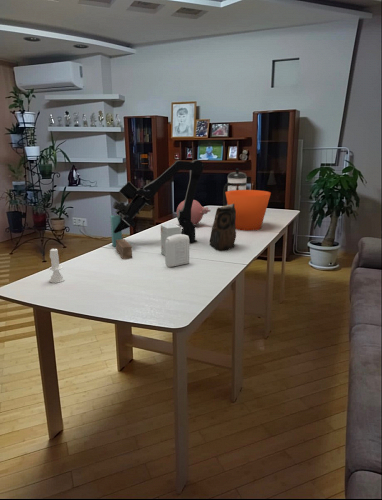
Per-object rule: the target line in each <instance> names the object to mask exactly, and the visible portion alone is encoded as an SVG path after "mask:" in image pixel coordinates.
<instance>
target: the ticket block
mask: <svg viewBox="0 0 382 500" xmlns="http://www.w3.org/2000/svg"><path fill="white" fill-rule="evenodd" d="M115 249H116V252H117V254H118V255H119V256H120V257H121V258H122V260H127V259H133V246H132V245H131V244H130V243H129V242H128V241H127V240H126V239H125V238H122V239H120V240H116V247H115Z"/></svg>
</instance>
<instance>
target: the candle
mask: <svg viewBox="0 0 382 500" xmlns="http://www.w3.org/2000/svg"><path fill="white" fill-rule="evenodd" d="M49 258H50V262H51V266H50V267H49V268H48V269H49V271H52V272H53V273H52V275H51V276H50V279H49V283H52V284H53V283H55V284H58V283H62V282H64V281H65V280H66V278H65V277H64V276H63V275H62V274H61V272H60V271H61V269H63V265H60V258H59V251H58V249H57V248H51V249H49Z"/></svg>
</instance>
